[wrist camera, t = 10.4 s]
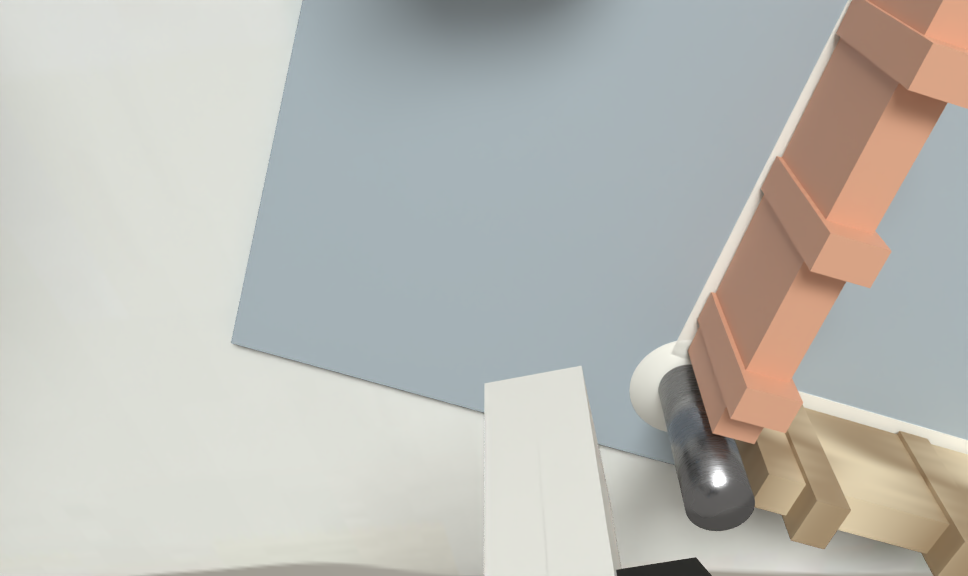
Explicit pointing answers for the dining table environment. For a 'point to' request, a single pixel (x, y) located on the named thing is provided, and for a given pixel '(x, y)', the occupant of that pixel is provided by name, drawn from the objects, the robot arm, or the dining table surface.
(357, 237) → the card
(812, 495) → the fixed panel
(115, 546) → the dining table surface
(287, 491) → the dining table surface
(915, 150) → the swing panel
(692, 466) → the hinge post
